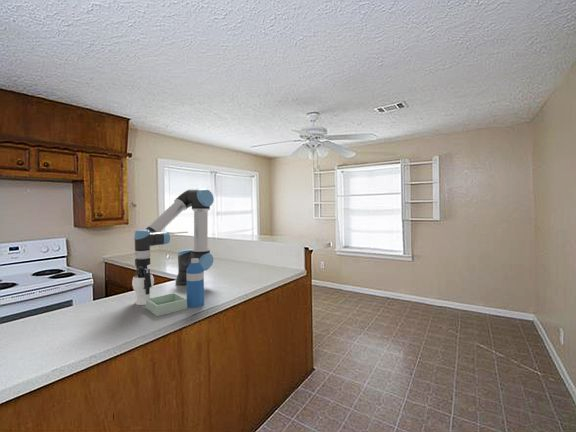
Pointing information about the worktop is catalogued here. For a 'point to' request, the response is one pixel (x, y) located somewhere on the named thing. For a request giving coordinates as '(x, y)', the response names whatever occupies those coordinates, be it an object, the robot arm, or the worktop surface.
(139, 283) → the cup
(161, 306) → the dish rack
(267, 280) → the worktop surface
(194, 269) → the water bottle
